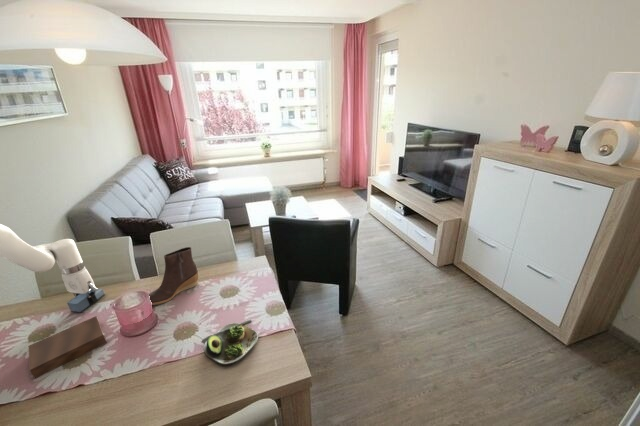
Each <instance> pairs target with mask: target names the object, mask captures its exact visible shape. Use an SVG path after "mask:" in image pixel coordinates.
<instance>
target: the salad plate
mask: <svg viewBox="0 0 640 426" xmlns="http://www.w3.org/2000/svg"><path fill="white" fill-rule="evenodd" d="M251 323H252V319H247V320H245V321H243V322H231V323H228V324H225V325H224V326H223V327H221V328H220V329H219V330H218V331H216V333H214V334H210V335H208V336H206V337H204V338H203V339H201V341H200V343H203V348H202V349H203V353H204V355H205V356H207V358H208V359H210V360H211V361H213V362H214V363H215V364H217V365H220V366H222V367H228V366H232V365H235V364H237V363H238V362H240V361H242V360H243V359H244V358H245V357H246V355H247V354H248V353H249V352H250V351H251V350H252V349H253V347H254V346H255V345H256V344H257V342H258V341H259V332H257V331H256V330H255V329H253V328H251V327H249V325H250V324H251Z"/></svg>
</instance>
